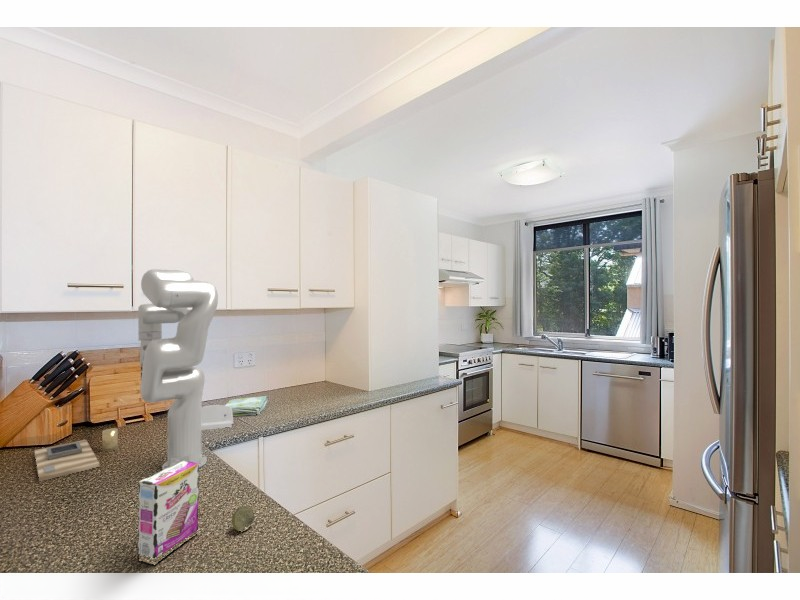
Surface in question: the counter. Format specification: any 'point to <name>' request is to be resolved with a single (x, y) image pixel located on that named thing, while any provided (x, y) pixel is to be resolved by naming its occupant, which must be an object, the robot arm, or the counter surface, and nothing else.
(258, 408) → the towel
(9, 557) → the counter surface
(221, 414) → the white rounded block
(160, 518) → the candy bar box
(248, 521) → the lime
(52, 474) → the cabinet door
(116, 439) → the hinge barrel
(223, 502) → the counter surface
